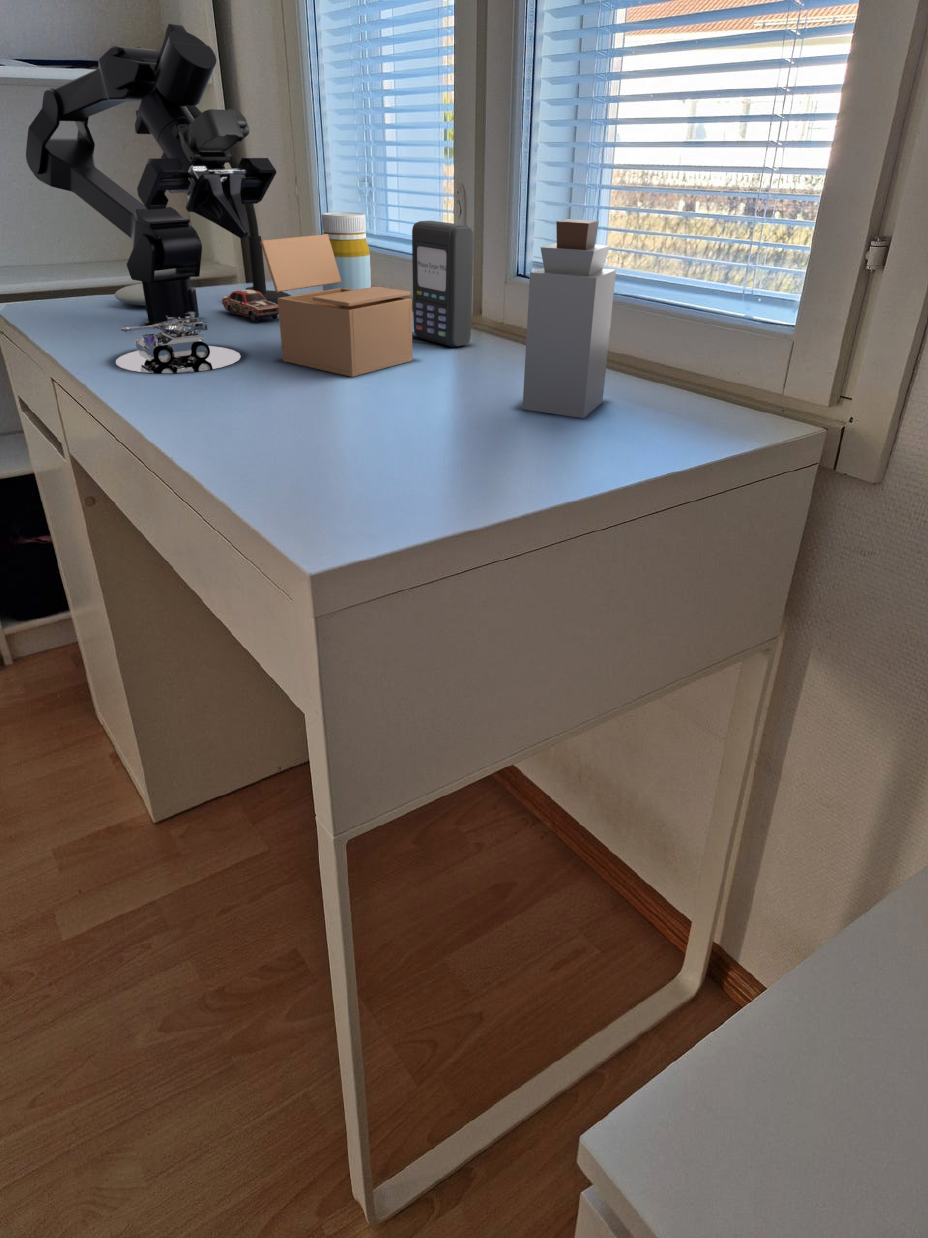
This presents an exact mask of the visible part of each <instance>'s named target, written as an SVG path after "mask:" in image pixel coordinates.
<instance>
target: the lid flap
mask: <svg viewBox="0 0 928 1238" xmlns="http://www.w3.org/2000/svg"><path fill="white" fill-rule="evenodd" d="M260 242H261V245H262V251H263V256H264V258H265V260H266V264H267V268H268V271H269V274H270V277H271V280H272V284H273V287H274V291H276V292H287V291H294V290H300V289H301V290H302V289H307V288H313V287H321V286H323V285H327V284H333V283H340V282H341V278H340V275H339V271H338V268H337V264H336V261H335V257H334V254H333V250H332V247H331V243H330V240H329V236H328V234H325V235H323V234H316V235H315V234H314V235H306V236H305V235H304V236H295V237H285V238H275V239H263V240H261V241H260Z"/></svg>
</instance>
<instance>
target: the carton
mask: <svg viewBox="0 0 928 1238" xmlns="http://www.w3.org/2000/svg"><path fill="white" fill-rule="evenodd" d="M407 296H412V292H411V291H409V290H403V289H395V288H388V287H381V286H371V287H369V288H363V289H357V290H353V289H346V288H337V289H331V290H324V291H323V290H318V291H313V292H307V293H301V294H293V295H291V296H287V297H281V298H278V310H279V315H278V320H279V331H280V343H281V353H282V355H281V356H282V362H285V363H289V364H295V365H298V366H302V367H307V368H311V369H316V370H321V371H325V372H329V373H334V374H337V375H343V376H346V377H350V378H354V377H357V376H361V375H365V374H368V373H373V372H376V371H379V370H384V369H386V368H390V367H394V366H398V365H402V364H405V363H409V362H413V298H410V297H407Z"/></svg>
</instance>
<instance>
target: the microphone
mask: <svg viewBox="0 0 928 1238" xmlns="http://www.w3.org/2000/svg"><path fill="white" fill-rule="evenodd" d="M186 108H187V109H188V111H189V112H190V114H191V115H192V117H193V118H194V120H195V119H196V118H197V117H198V116H199V115H200V114H201V113H202V112H203V111H201V109H199V108H198V107H197V105H194V106H186ZM228 151H229V152H230V154H231V155H232V156H231V158H230V160H229V162H228V164H229V166H230V169H236V168H237V167H238V165H239V163H240V162H239V160H238V159H237V157H236V156H235V153H234V152H233V151H232V148H230V149H229V150H228ZM244 208H245V212H246V217H247V222H248V227H249V229H248V231H249V235H247V240H248V248H249V249H248V250H249V260H250V270H251V280H252V286H248V287H246V288H245V289H244V290H254V291H259V292H260V293H261V294H262V295H263V296H264V298H266V300H267V301H270V302H272V303H275V304H277V305H278V298H281V297H287V296H292V295H291V294H290V293H288V292H286V291H282V292H276V291H275V290H269V289H267V282H266V274H265V273H266V272H265V263H264V252H263V249H262V245H261V242H260V241H262V235H260V233H259V225H258V219H257V213H256V209H255V204H244Z"/></svg>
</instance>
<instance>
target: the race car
mask: <svg viewBox="0 0 928 1238" xmlns="http://www.w3.org/2000/svg"><path fill="white" fill-rule="evenodd" d="M221 301H222V305H223V308H224V310H226V311H228V312H229V313H230V314H231V315H232V316H235V315H236V314H237V315H240V316H243V317H247V318H250V319H251V320H252V322H253V323H258V322H259V320H260V319H268V318H271V319H272V320H277V319H278V318H279V310H278V305H277V304H275V303H272V302H270V301H267V300H266V298H264V296H263V295H262V294H261V293H260V292H259V291H254V290H245V289H239V290H234V291H231V293H230V294H229V295H228V296H223V297H222V300H221Z"/></svg>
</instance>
